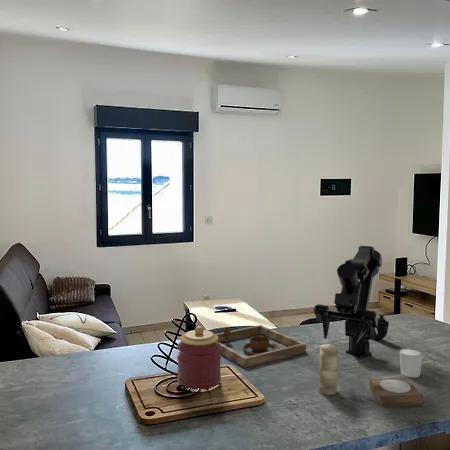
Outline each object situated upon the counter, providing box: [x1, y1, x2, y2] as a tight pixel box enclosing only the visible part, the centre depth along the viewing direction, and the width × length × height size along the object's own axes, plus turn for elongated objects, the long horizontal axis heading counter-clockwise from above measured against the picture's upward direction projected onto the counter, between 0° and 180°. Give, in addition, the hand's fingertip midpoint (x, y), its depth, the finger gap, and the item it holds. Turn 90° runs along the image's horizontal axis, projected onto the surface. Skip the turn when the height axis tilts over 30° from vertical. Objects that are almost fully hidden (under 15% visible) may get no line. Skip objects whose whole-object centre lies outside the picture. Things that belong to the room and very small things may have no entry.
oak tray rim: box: [214, 324, 307, 369], centre depth 173 cm, size 26×26×3 cm
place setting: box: [223, 327, 281, 356], centre depth 174 cm, size 18×20×6 cm
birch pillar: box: [318, 343, 339, 396], centre depth 138 cm, size 5×5×13 cm
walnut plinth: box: [368, 378, 424, 407], centre depth 135 cm, size 11×11×3 cm
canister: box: [176, 325, 222, 389], centre depth 142 cm, size 13×13×18 cm
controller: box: [373, 314, 390, 341], centre depth 185 cm, size 4×12×10 cm, turn 25°
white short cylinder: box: [399, 348, 424, 378], centre depth 151 cm, size 7×7×7 cm
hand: (340, 340), depth 143 cm, fingers open, 9 cm apart
